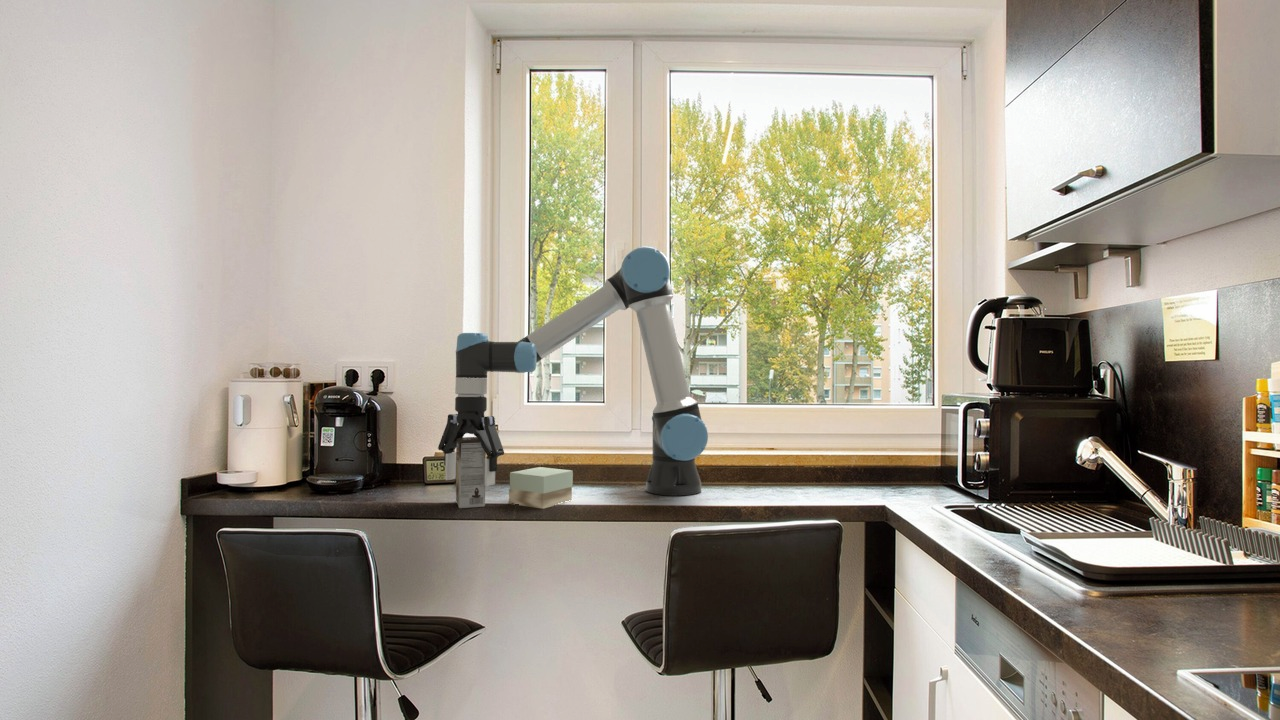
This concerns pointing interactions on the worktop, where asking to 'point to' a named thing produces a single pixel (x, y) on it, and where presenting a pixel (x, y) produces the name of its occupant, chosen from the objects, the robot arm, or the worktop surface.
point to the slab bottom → (539, 497)
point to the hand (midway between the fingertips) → (469, 482)
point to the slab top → (541, 479)
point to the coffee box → (470, 473)
